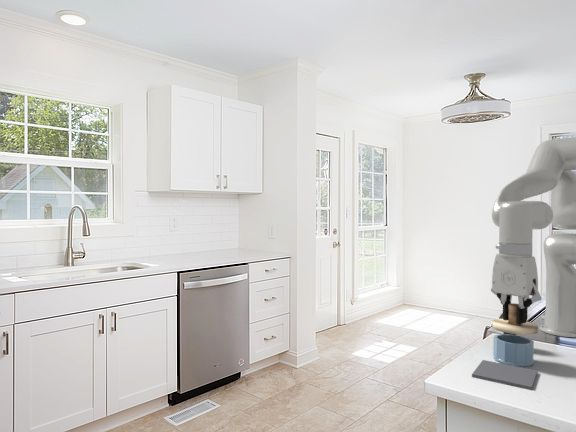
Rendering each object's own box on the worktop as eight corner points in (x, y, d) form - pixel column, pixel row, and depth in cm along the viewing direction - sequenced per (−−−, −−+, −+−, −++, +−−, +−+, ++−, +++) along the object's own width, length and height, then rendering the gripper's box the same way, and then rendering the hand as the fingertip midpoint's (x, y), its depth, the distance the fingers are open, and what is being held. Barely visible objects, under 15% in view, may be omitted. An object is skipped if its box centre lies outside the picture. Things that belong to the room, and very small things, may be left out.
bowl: (497, 352, 117) (497, 332, 117) (535, 359, 111) (535, 338, 111) (490, 361, 109) (490, 340, 109) (531, 369, 104) (531, 347, 104)
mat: (482, 362, 109) (482, 359, 109) (537, 373, 102) (537, 370, 102) (471, 376, 99) (472, 374, 99) (531, 389, 92) (531, 386, 92)
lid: (496, 321, 118) (496, 298, 118) (540, 327, 112) (540, 303, 112) (488, 330, 109) (488, 305, 109) (535, 337, 103) (535, 311, 103)
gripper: (478, 248, 116) (477, 316, 116) (538, 254, 101) (537, 331, 102) (496, 246, 119) (495, 312, 120) (556, 252, 105) (555, 327, 105)
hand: (514, 320), depth 111 cm, fingers closed on lid, 3 cm apart
